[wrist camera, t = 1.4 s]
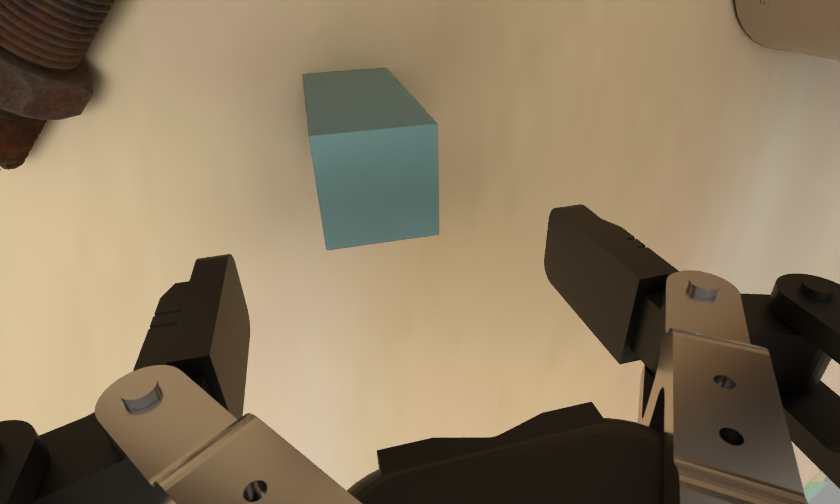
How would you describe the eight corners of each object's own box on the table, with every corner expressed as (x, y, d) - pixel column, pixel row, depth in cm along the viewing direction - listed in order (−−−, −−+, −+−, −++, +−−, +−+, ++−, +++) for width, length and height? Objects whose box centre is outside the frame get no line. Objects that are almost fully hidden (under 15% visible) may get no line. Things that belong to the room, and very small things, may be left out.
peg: (385, 67, 24) (437, 123, 15) (391, 147, 26) (439, 234, 17) (302, 74, 23) (308, 136, 15) (314, 155, 25) (326, 250, 17)
